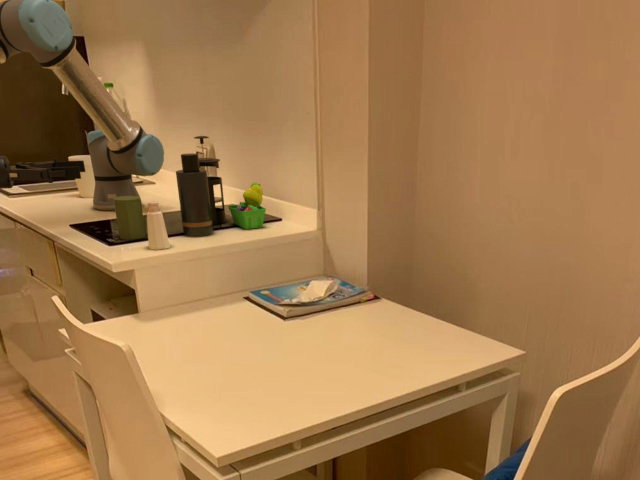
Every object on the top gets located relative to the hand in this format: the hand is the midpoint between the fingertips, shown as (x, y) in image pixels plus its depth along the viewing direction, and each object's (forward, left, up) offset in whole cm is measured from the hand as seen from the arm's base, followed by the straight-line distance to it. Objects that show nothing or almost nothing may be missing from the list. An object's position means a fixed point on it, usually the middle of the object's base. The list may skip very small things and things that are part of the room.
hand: (82, 169), depth 177 cm
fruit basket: (+2, +43, -18) cm, 46 cm away
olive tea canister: (+2, +10, -17) cm, 20 cm away
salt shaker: (+18, +14, -18) cm, 28 cm away
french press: (-9, +34, -18) cm, 39 cm away
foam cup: (-76, +7, -18) cm, 79 cm away
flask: (+6, +27, -17) cm, 32 cm away
